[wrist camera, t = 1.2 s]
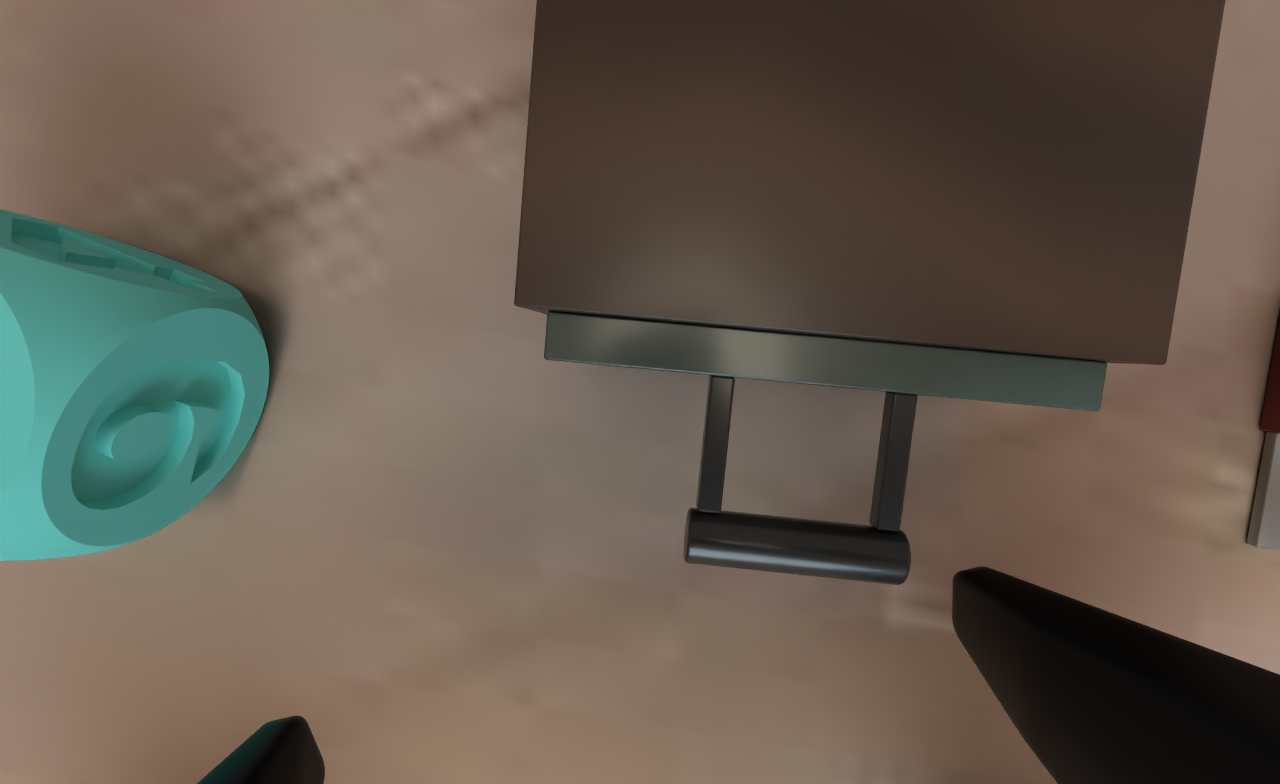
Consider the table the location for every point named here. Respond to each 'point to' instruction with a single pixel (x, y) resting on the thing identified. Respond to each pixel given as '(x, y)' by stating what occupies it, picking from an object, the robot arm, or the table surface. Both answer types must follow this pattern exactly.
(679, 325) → the drawer
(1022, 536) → the table surface
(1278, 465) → the red usb flash drive
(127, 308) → the decorative dice
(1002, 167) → the cabinet
